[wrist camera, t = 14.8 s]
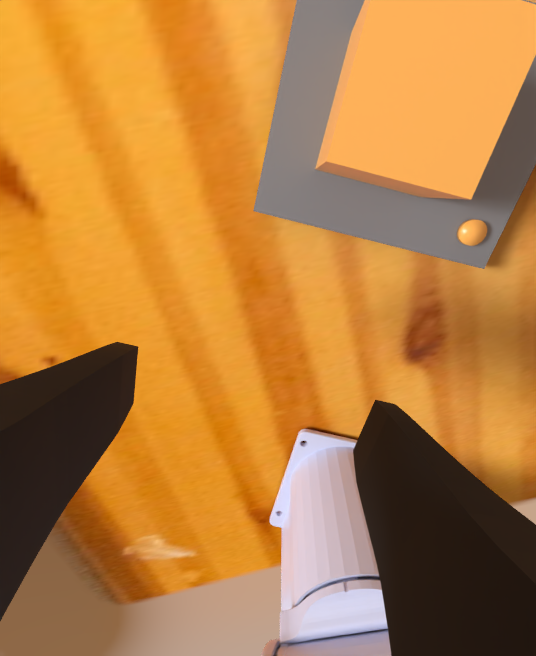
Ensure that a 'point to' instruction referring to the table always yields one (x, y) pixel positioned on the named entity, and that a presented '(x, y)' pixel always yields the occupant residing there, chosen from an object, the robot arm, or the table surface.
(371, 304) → the table surface
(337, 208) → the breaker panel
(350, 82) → the orange cube
